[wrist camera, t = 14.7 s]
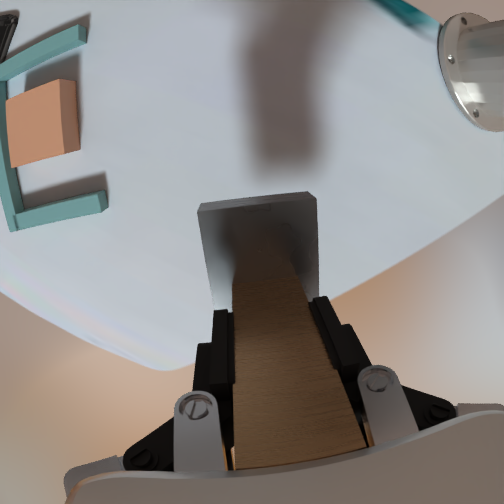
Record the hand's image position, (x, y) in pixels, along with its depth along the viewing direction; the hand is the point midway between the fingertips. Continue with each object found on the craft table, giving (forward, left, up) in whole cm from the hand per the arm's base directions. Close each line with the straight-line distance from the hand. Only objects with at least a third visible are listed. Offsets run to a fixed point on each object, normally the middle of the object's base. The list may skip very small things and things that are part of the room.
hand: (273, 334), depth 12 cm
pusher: (0, 0, -4) cm, 4 cm away
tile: (+16, -12, -14) cm, 24 cm away
